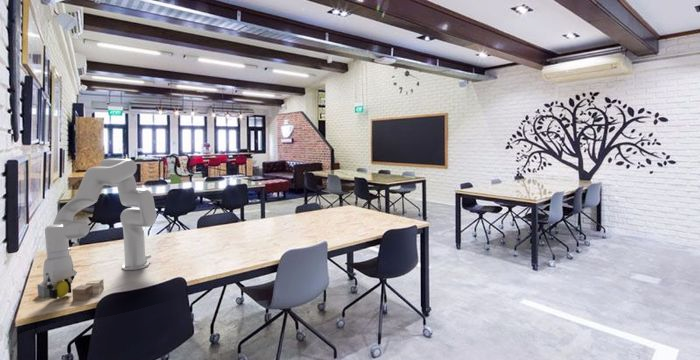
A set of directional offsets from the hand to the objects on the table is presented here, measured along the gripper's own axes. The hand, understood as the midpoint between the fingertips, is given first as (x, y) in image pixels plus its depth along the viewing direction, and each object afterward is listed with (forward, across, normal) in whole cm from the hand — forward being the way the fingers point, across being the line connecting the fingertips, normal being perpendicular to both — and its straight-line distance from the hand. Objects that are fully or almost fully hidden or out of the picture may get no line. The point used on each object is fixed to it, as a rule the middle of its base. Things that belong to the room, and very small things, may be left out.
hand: (60, 295), depth 159 cm
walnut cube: (+1, -2, +9) cm, 9 cm away
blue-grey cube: (+1, -2, -9) cm, 9 cm away
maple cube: (+1, -9, +8) cm, 12 cm away
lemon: (+1, 0, 0) cm, 1 cm away
